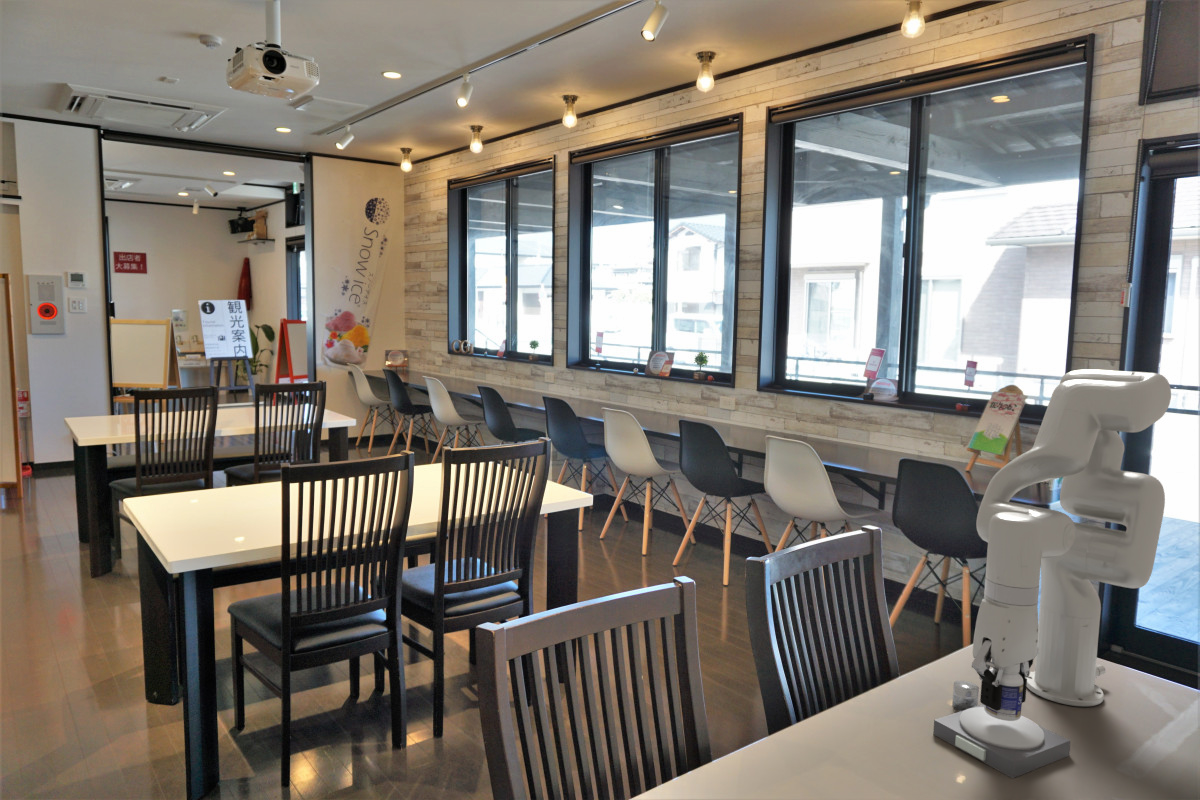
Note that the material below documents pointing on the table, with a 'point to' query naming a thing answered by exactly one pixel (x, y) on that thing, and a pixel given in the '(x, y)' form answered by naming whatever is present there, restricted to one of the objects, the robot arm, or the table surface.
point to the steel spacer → (965, 695)
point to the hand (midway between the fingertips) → (1002, 701)
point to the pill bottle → (1009, 694)
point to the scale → (1002, 740)
